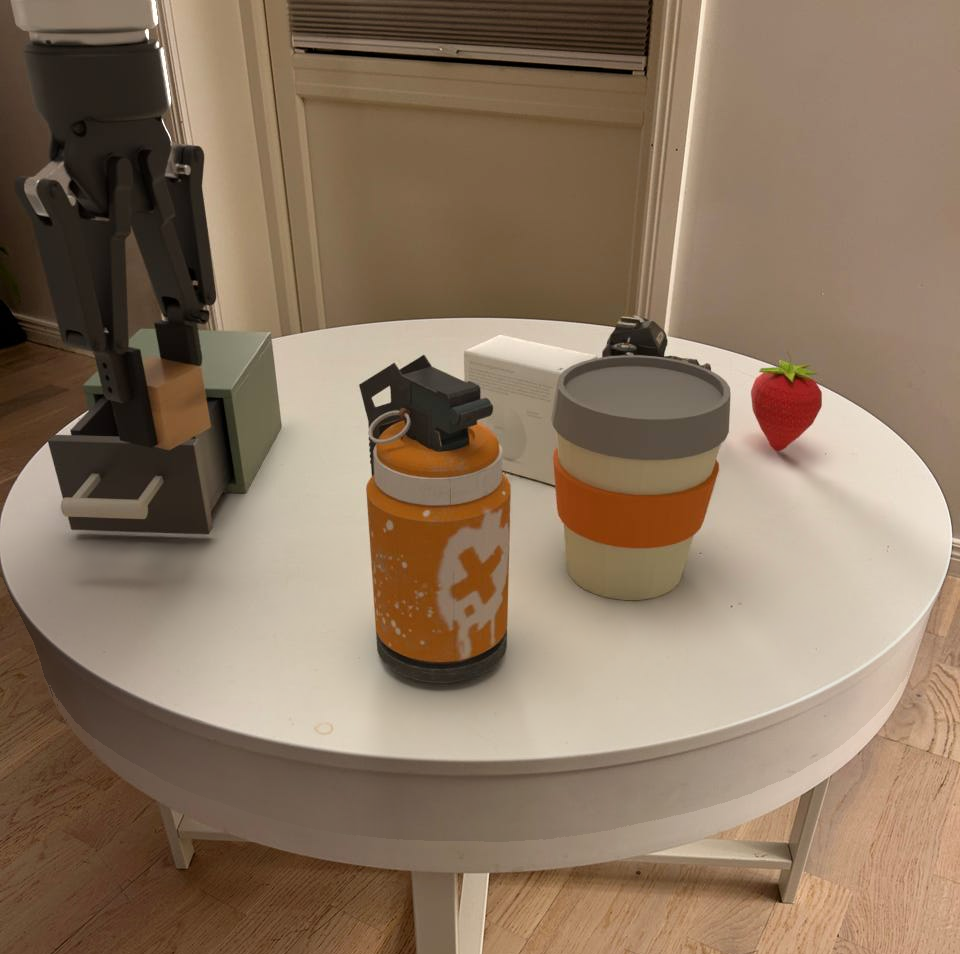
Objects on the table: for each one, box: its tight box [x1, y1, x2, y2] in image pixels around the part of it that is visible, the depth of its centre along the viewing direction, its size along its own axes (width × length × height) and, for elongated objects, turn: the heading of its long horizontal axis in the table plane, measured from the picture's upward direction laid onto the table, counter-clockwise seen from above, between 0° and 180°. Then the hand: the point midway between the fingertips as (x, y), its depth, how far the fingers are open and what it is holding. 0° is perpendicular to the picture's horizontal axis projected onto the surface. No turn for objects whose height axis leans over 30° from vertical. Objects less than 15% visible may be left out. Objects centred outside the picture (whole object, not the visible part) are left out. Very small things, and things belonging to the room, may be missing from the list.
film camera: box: [601, 315, 712, 371], centre depth 99 cm, size 18×12×10 cm
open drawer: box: [47, 395, 234, 535], centre depth 81 cm, size 19×11×8 cm, turn 177°
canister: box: [358, 354, 512, 684], centre depth 64 cm, size 9×11×20 cm
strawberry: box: [750, 348, 823, 452], centre depth 93 cm, size 6×8×10 cm
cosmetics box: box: [463, 334, 598, 486], centre depth 91 cm, size 10×6×10 cm, turn 57°
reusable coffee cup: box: [551, 355, 731, 601], centre depth 74 cm, size 12×13×15 cm
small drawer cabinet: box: [82, 328, 283, 494], centre depth 92 cm, size 15×13×10 cm
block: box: [111, 356, 211, 450], centre depth 68 cm, size 4×4×4 cm
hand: (164, 427), depth 69 cm, fingers closed on block, 4 cm apart
